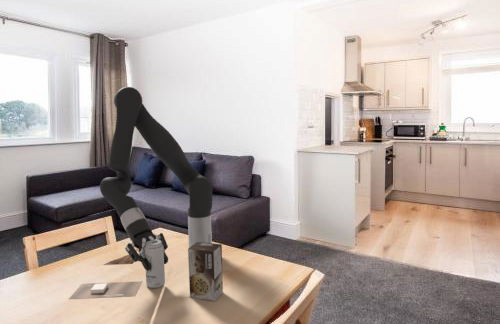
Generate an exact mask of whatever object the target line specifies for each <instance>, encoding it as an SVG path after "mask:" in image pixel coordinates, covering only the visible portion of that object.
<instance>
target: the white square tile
mask: <svg viewBox="0 0 500 324" xmlns="http://www.w3.org/2000/svg"><path fill="white" fill-rule="evenodd" d="M103 283H104V284H95V285H94V286H93V287H92V289H91V293H104V292H105V290H106V289H107V287H108V283H109V282H103Z"/></svg>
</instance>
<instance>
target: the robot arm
mask: <svg viewBox="0 0 500 324" xmlns="http://www.w3.org/2000/svg"><path fill="white" fill-rule="evenodd" d="M113 104H114V106H115V108H116V123H115V129H114V133H113V137H112V140H111V141H112V142H111V145H110V149H109V150H110V152H109V158H108V169H110V170H111V171H114V172H115V173H116V176H113V177H110V176H108V177H105V178H103V179H102V180H101V181H100V184H99V190H100V193H101V195H102V196H103V198H104V199H105V200H106V201H107V202H108V203H109V204H110V206H112V207H113V208H114V209H115V211H116V213H117V215H118V217H119V218H120V222H121V224H122V226H123V228H124V230H125V232H126V234H127V236H128V238H129V239H130V241H131V243H130V242H129V243H127V245H126V246H125V248H124V249H125V251H126V253H127V255H130V256H131V258H132V259H133V261H134V262H133V263H137V262H140V263H141V265H142V266H143V268H144V270H145V271H146V270H147V271H149V270H150V269H151V268H152V267H151V265H150V263H149V261H148V260H147V258H145V257H146V255H145V246H146V243H147V242H148V241H150V240H160V241H161V243H162V245H163V246H164V265H166V264H167V263H168V262H169V256H168V255H167V253H166V250H167V249H168V246H169V245H168V243H167V241H166V239H165V236H164V233H162V232H160V233H158V234H155V233H153V230H152V227H151V225H150V224H149V222H148V220H147V218H146V217H145V214H144V213H143V212H142V210H141V209H140V208H139V206H138V204H137V202H136V200H135V199H134V198H133V196H130V195H128V194H129V193H130V191H131V188H132V181H131V172H130V163H131V156H132V155H131V154H132V149H133V140H134V131H135V128H136V130H137V131H138V132H139V134H140V136H141V137H142V138H143V140H144V141H145V143H146V144H147V145H148V146H149V148H150V150H151V151H153V153H154V154H155V155H156V156H157V157H158V159H159V160H160V161H161V162H162V163H163V164H164V165H165V166H166V167H167V168H168V169H169V170H171V172H172V173H174V175H175V176H176V177H177V178H178V180H179V181H180V182H179V183H181V185H182V186H183V188H184V189H185V191H186V192H187V194H188V195H189V207H188V209H187V227H188V228H187V229H188V248H190V247H191V246H192V245H193V244H195V243H196V242H204V243H213V241H212V239H213V238H212V237H213V236H212V234H213V233H212V209H213V184H212V183H211V181H210V180H209V178H207V177H206V176H203V175H202V174H201V173H199V171H197V169H195V168H194V166H193V165H192V164H191V163H190V161H189V160H188V158H187V156H186V154H185V152H184V150H183V149H182V147H181V146H180V144H179V143H178V141H177V140H176V139H175V138H174V136H173V135H172V134H171V133H170V131H169V130H167V129H166V128H165V127H164V126H163V125H162V124H161V123H160V122H158V121H157V119H155V118H154V117H153V116H152V115H151V114H150V112H149V111H148V109H147V108H146V107H145V105H144V104H143V97H142V94H141V92H139V90H138V89H137V88H134V87H132V86H124V87H122V88H120V89H119V90H118V91H117V92H116V93H115V95H114V97H113ZM136 249H138V252H137V250H136Z"/></svg>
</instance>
